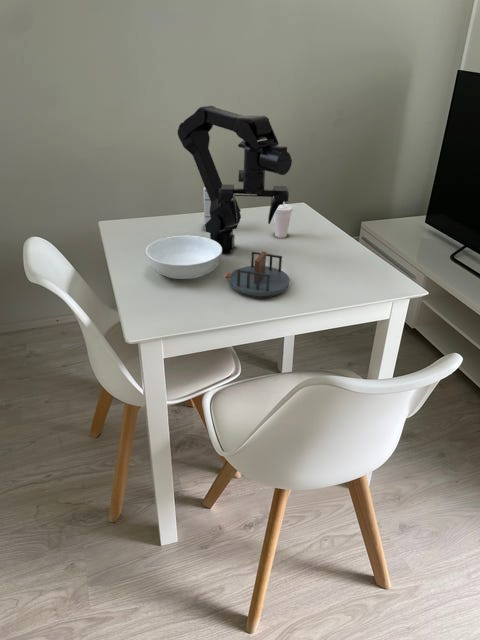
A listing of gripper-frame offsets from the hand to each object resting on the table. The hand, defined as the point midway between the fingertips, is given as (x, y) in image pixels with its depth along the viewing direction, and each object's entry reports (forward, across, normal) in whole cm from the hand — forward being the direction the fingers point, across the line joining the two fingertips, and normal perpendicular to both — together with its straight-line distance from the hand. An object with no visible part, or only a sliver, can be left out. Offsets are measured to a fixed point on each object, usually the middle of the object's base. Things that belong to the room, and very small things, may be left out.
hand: (252, 223), depth 146 cm
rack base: (+12, -2, +15) cm, 19 cm away
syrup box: (+12, +13, -26) cm, 32 cm away
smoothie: (+12, -10, -21) cm, 26 cm away
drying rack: (+11, -2, +15) cm, 18 cm away
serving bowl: (+12, +19, +7) cm, 23 cm away
